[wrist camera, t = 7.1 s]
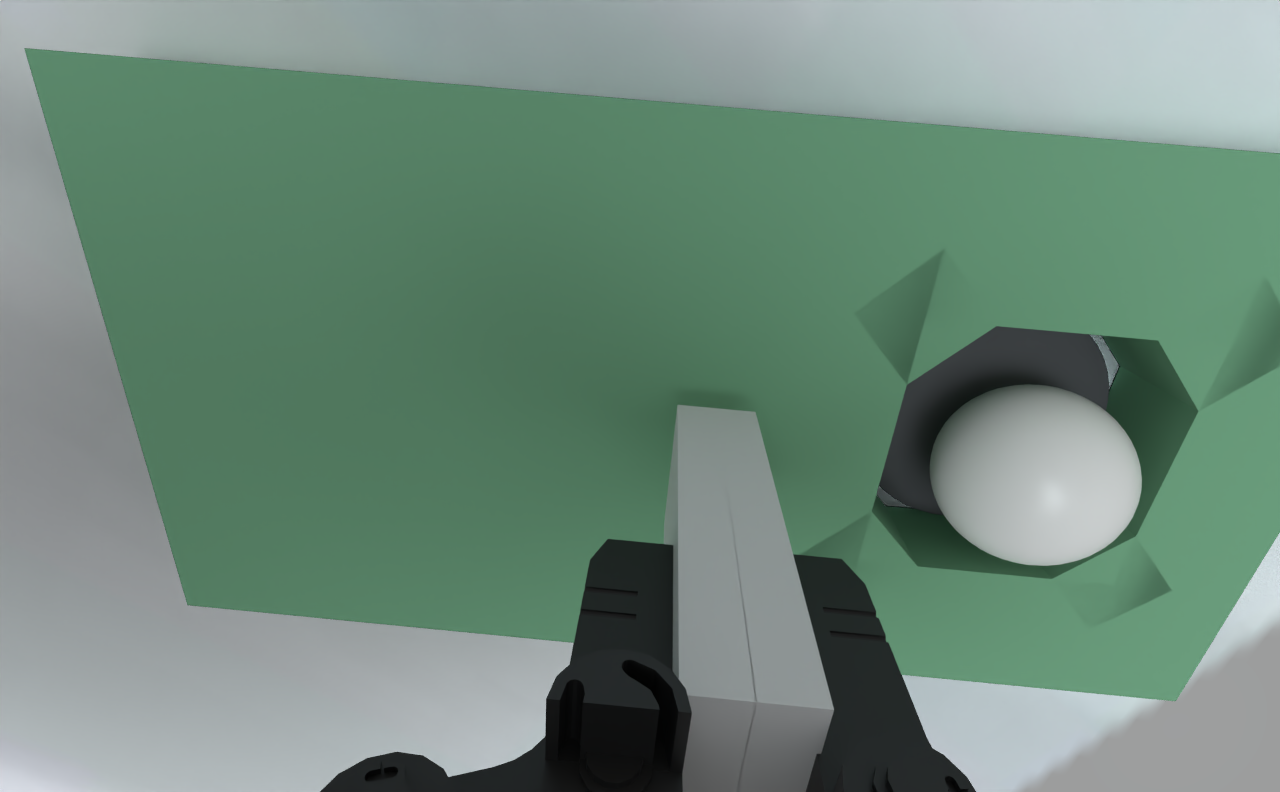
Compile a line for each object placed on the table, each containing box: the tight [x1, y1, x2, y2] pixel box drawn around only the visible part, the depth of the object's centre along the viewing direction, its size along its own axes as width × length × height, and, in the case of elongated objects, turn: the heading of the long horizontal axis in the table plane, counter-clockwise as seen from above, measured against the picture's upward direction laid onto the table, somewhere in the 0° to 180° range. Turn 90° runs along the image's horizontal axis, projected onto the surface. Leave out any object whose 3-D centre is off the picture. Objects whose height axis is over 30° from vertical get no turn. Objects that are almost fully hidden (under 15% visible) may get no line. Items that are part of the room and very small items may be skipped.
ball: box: [930, 384, 1142, 566], centre depth 14 cm, size 4×4×4 cm
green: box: [24, 48, 1280, 701], centre depth 11 cm, size 28×13×12 cm, turn 85°
